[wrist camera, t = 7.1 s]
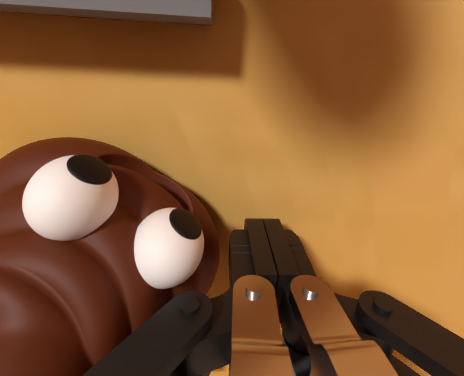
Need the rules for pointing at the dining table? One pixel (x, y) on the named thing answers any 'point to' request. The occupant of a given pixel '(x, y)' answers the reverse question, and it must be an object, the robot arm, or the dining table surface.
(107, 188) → the poop emoji
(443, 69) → the dining table surface
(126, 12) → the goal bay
